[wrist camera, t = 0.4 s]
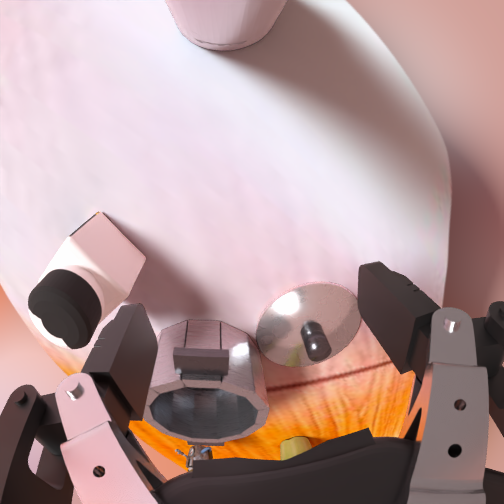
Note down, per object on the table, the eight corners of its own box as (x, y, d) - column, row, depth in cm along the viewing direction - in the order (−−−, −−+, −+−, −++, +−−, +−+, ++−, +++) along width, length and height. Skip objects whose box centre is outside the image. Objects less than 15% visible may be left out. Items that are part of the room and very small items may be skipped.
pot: (142, 298, 30) (122, 355, 21) (267, 304, 31) (281, 362, 23) (161, 397, 38) (155, 445, 30) (251, 400, 40) (257, 449, 31)
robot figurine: (190, 403, 39) (188, 468, 28) (240, 417, 42) (246, 477, 31) (166, 427, 42) (162, 482, 32) (210, 440, 45) (212, 492, 34)
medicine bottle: (100, 209, 25) (36, 265, 14) (148, 257, 28) (112, 335, 17) (66, 251, 26) (9, 315, 15) (110, 294, 29) (72, 370, 18)
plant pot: (266, 450, 50) (272, 483, 42) (280, 433, 46) (287, 469, 38) (305, 449, 51) (312, 479, 44) (322, 430, 48) (332, 464, 40)
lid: (262, 278, 30) (269, 305, 26) (370, 280, 32) (389, 303, 28) (250, 363, 36) (254, 391, 32) (341, 358, 38) (352, 383, 33)
